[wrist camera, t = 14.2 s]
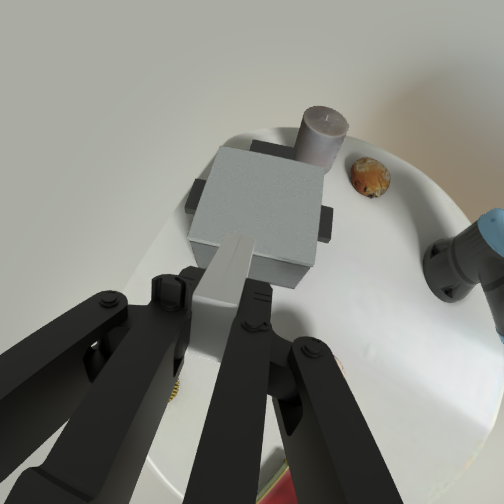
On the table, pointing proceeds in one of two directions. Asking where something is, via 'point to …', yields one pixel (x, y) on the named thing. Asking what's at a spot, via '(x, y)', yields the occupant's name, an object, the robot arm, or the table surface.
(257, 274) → the grey storage box
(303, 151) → the pillar candle
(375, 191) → the bread roll
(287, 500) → the hardcover book
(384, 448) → the table surface
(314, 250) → the lid
